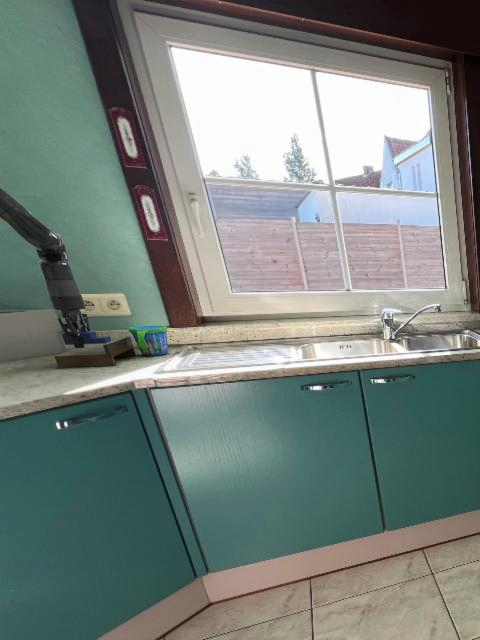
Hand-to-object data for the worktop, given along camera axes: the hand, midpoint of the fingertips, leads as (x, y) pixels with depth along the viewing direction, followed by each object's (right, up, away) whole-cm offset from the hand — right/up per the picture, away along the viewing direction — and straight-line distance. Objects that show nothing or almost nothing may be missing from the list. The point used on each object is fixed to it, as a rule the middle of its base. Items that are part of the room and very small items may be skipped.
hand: (83, 346), depth 166 cm
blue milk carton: (+2, 0, +1) cm, 2 cm away
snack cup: (+8, +1, +19) cm, 20 cm away
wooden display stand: (0, -4, +5) cm, 7 cm away
